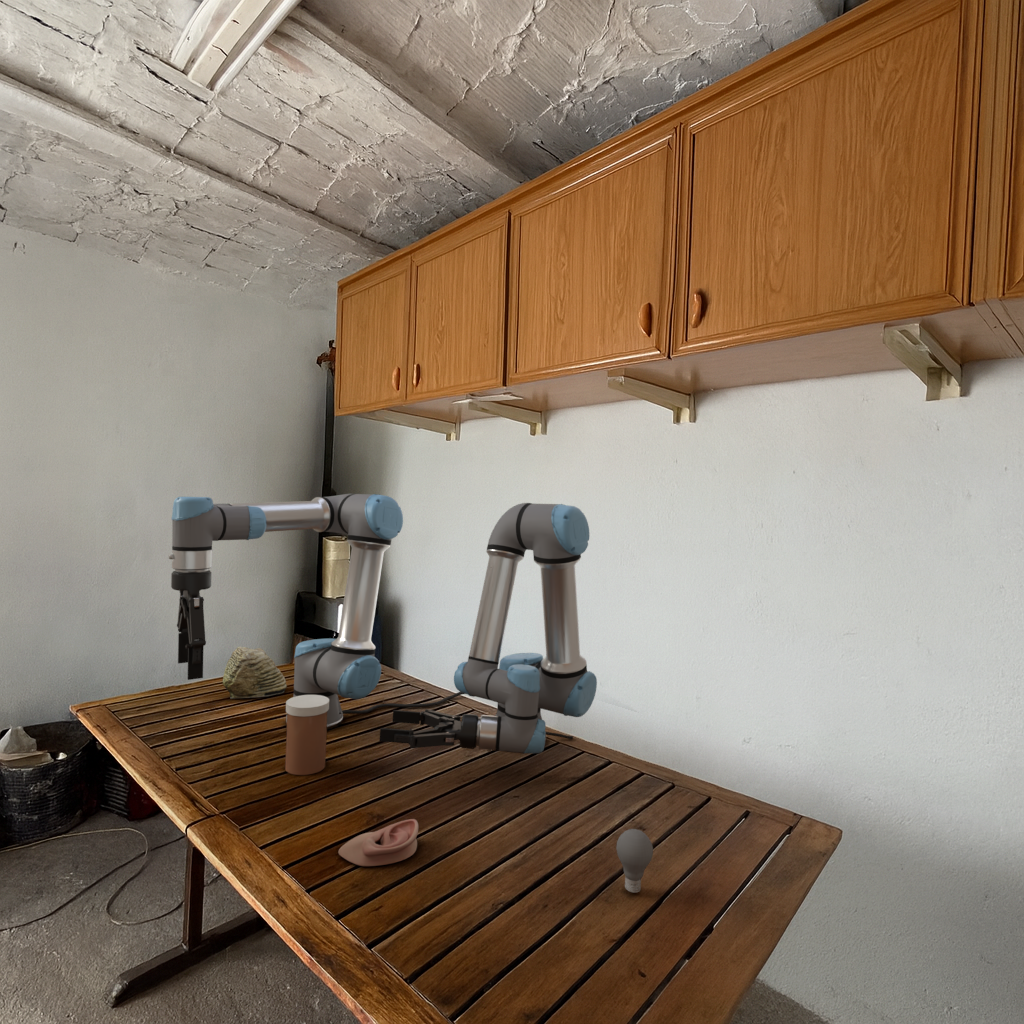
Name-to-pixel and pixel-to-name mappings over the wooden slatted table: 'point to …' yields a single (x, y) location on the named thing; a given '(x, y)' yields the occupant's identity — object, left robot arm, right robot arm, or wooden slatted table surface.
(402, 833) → the anatomical model
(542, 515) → the right robot arm
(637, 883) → the light bulb
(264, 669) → the fossil
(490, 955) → the wooden slatted table surface
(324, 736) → the jar
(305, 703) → the lid
